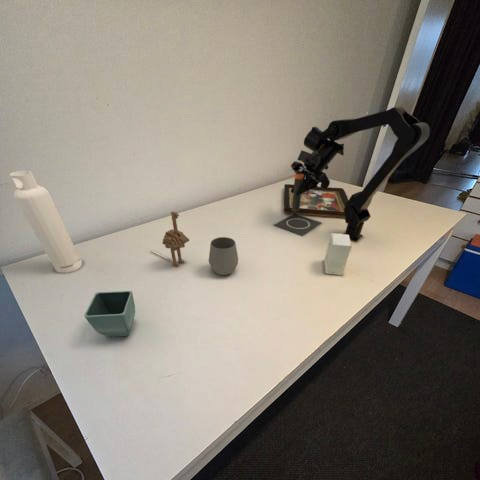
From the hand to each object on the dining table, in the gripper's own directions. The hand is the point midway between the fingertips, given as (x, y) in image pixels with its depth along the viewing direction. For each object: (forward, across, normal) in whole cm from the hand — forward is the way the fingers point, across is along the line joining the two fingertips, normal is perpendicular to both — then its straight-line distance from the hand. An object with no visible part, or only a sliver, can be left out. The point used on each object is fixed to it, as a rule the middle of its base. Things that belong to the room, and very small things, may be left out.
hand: (293, 193), depth 101 cm
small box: (+12, +32, +7) cm, 36 cm away
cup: (+36, +19, -17) cm, 44 cm away
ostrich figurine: (+47, +5, -28) cm, 55 cm away
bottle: (+69, -4, -50) cm, 85 cm away
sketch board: (+6, -1, +13) cm, 14 cm away
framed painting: (-10, -18, +28) cm, 35 cm away
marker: (+3, 0, +6) cm, 7 cm away
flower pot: (+61, +33, -41) cm, 80 cm away
